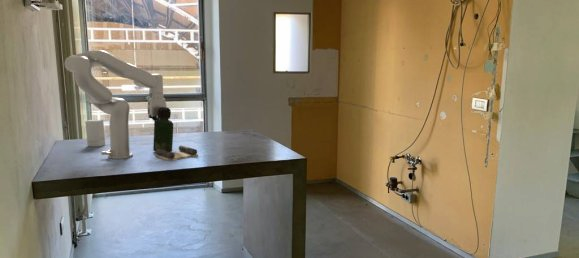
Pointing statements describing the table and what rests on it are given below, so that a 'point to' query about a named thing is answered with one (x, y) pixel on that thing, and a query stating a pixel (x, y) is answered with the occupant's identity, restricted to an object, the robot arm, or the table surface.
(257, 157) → the table surface
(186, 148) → the cradle
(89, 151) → the table surface
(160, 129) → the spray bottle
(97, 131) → the skincare box
